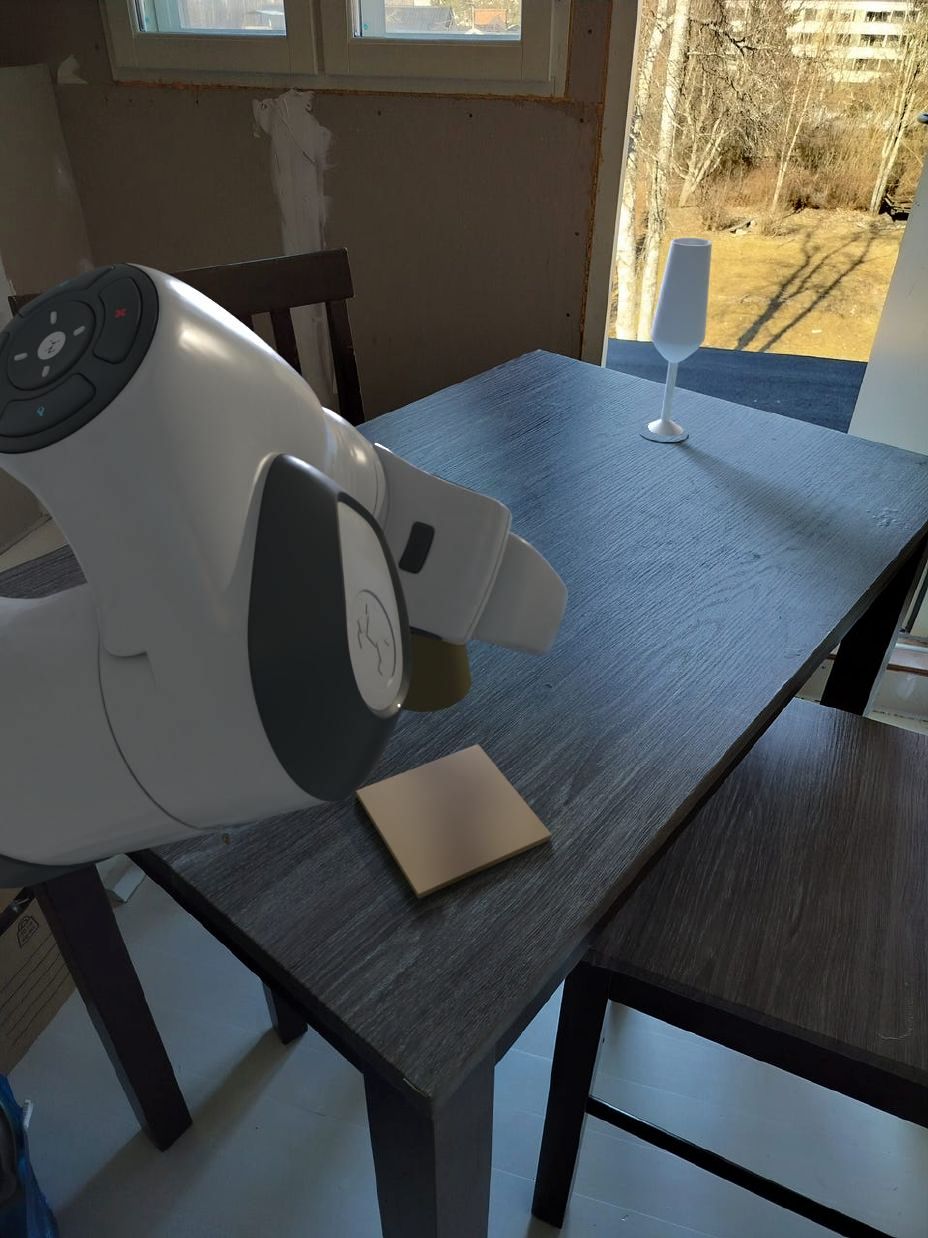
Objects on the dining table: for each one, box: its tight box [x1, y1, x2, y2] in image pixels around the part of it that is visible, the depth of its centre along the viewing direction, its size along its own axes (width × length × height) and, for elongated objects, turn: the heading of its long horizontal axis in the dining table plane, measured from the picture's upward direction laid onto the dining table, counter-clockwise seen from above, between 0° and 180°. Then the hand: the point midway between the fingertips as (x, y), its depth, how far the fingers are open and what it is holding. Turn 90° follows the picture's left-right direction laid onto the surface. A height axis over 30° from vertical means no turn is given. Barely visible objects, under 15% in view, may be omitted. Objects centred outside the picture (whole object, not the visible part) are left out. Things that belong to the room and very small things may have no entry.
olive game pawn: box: [402, 634, 472, 713], centre depth 52 cm, size 6×6×11 cm
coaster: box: [355, 744, 552, 900], centre depth 59 cm, size 10×10×1 cm
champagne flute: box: [648, 237, 713, 436], centre depth 108 cm, size 7×7×24 cm
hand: (428, 599), depth 52 cm, fingers closed on olive game pawn, 4 cm apart
